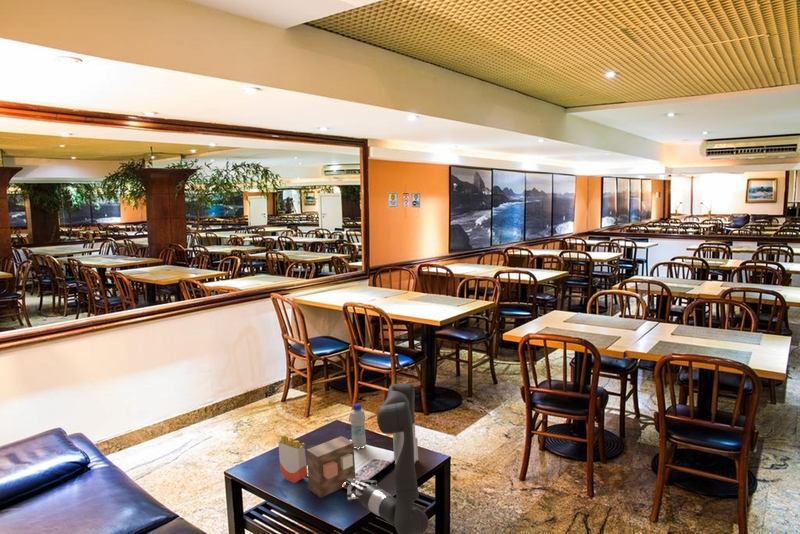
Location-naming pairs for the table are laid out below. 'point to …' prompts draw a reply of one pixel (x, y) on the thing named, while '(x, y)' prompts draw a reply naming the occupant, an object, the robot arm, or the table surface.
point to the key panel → (326, 454)
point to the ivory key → (346, 461)
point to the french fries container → (292, 459)
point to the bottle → (358, 426)
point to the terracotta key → (329, 469)
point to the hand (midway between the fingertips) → (347, 481)
